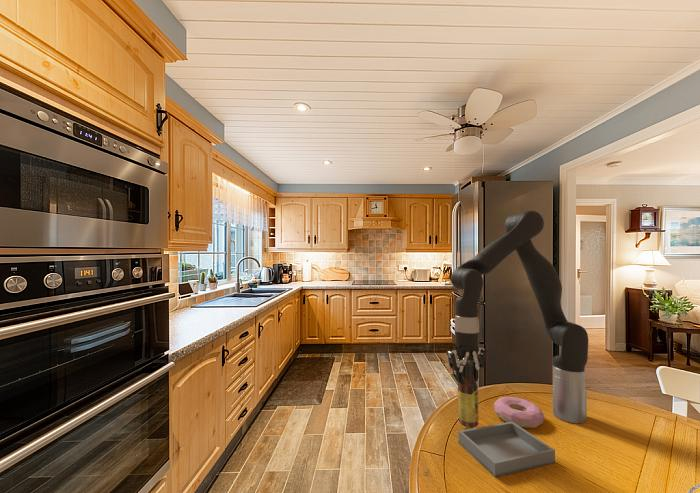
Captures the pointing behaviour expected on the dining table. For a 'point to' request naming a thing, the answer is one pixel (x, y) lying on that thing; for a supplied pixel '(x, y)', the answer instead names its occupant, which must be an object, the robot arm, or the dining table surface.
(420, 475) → the dining table surface
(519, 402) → the donut
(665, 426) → the dining table surface
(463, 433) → the tray
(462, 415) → the sauce bottle
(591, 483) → the dining table surface
